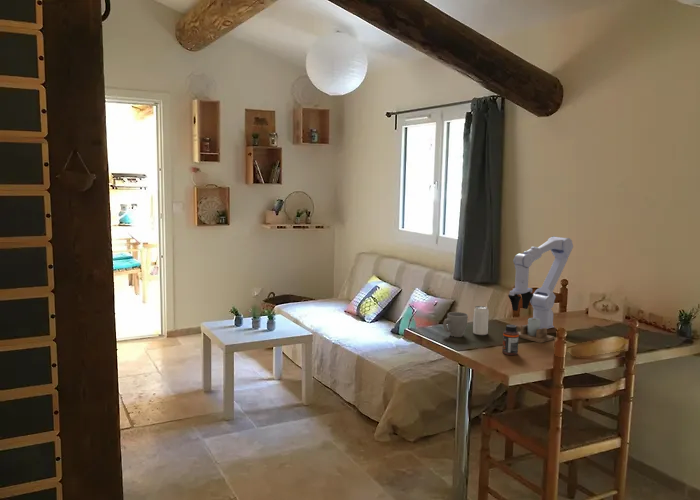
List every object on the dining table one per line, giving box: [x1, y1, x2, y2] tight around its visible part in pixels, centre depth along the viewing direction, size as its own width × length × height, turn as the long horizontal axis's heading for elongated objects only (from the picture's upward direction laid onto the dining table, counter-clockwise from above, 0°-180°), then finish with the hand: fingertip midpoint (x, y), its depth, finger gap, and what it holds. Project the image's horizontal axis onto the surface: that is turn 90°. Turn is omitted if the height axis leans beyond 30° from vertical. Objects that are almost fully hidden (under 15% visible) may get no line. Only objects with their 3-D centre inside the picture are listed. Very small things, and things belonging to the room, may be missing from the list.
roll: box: [527, 317, 540, 336], centre depth 264 cm, size 5×5×7 cm
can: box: [472, 305, 490, 336], centre depth 269 cm, size 6×6×12 cm
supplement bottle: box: [502, 324, 520, 356], centre depth 239 cm, size 6×6×11 cm
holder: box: [518, 323, 555, 344], centre depth 265 cm, size 10×14×5 cm
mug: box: [442, 311, 469, 338], centre depth 264 cm, size 12×9×10 cm
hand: (520, 309), depth 275 cm, fingers open, 7 cm apart
